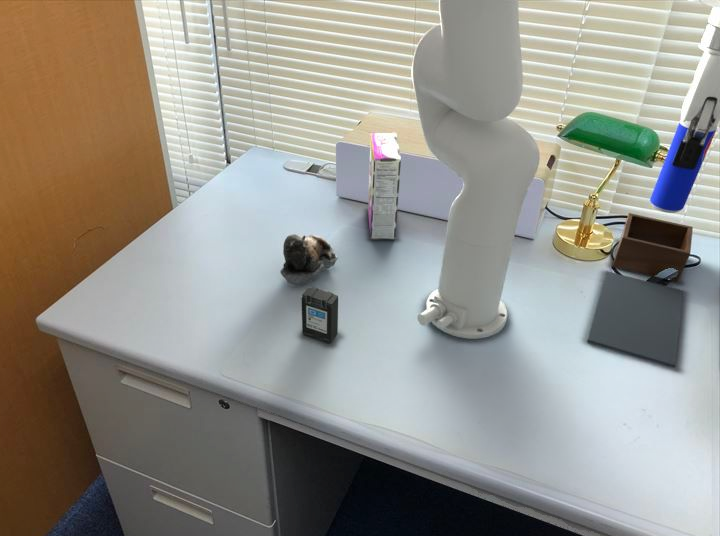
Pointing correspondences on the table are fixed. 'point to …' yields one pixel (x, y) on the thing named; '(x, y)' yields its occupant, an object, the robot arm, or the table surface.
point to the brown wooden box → (653, 246)
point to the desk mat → (638, 318)
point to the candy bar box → (383, 185)
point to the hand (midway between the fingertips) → (684, 158)
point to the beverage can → (677, 174)
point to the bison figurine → (306, 258)
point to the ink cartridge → (319, 314)
